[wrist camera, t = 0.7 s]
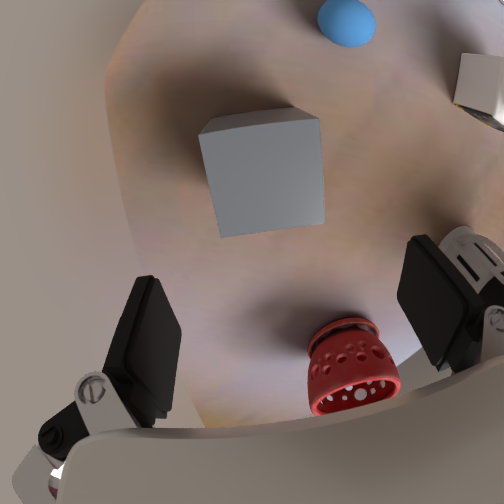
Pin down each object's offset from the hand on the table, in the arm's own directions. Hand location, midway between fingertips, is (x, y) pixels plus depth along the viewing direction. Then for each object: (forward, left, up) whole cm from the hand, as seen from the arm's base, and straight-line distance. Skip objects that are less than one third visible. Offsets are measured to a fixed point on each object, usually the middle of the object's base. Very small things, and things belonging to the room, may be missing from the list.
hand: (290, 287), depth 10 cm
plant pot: (-9, +30, -19) cm, 37 cm away
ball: (-9, -12, -17) cm, 23 cm away
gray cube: (0, 0, -19) cm, 19 cm away
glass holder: (-26, +14, -19) cm, 35 cm away
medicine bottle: (-27, -7, -19) cm, 34 cm away
